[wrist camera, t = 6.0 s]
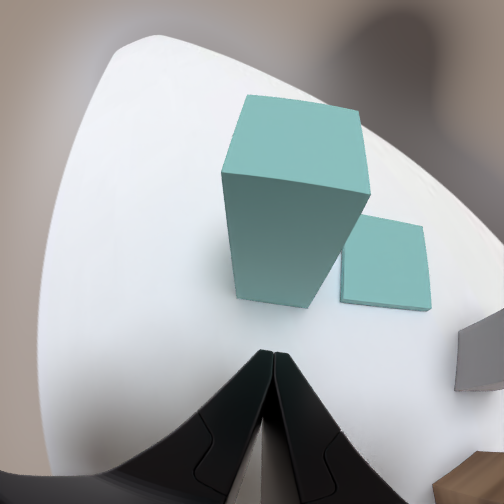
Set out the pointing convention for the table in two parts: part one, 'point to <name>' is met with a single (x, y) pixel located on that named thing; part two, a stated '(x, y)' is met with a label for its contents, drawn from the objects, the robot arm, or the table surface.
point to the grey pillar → (481, 355)
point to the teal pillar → (291, 195)
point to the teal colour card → (386, 265)
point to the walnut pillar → (473, 481)
